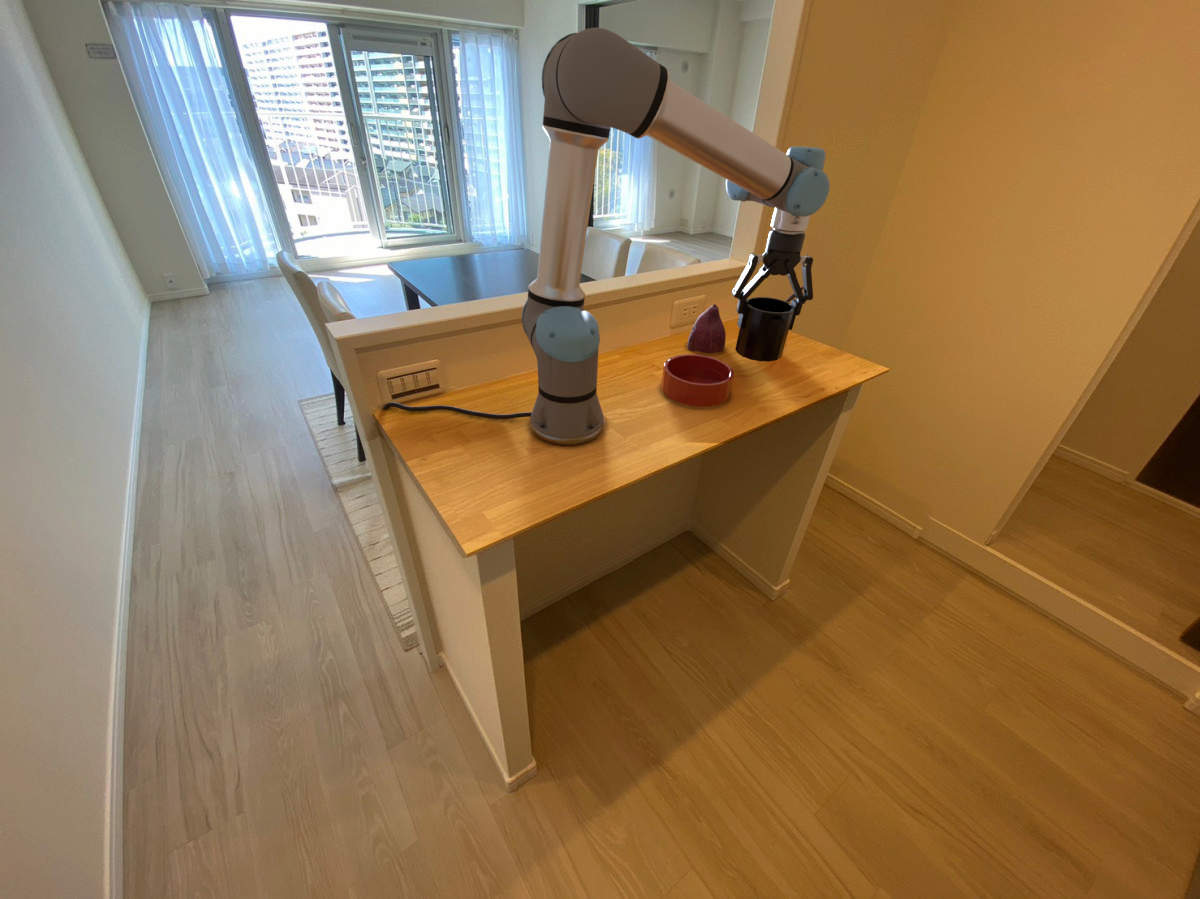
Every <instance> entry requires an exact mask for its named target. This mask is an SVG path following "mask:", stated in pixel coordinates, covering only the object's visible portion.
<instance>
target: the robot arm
mask: <svg viewBox="0 0 1200 899" xmlns="http://www.w3.org/2000/svg"><path fill="white" fill-rule="evenodd" d="M541 89H542V95H543V98H544V101H543V102H544V104H543V106H544V107H543V113H542V114H543V115H542V116H543V117H542V129H543V131H544V132H545V134H546V135H547V137H548V139H549V149H548V159H547V168H546V180H545V189H544V201H543V211H542V212H543V213H542V221H541V233H540V243H539V253H538V264H537V276H536V279H534V280H533V281H532V282H531V283H529V284H528V289H527V300H526V301H525V303H524V304H523V307H522V312H521V324H522V329H523V331H524V333H525V335H526V337H527V340H528V341H529V344H530V346H531V348H532V351H533V352H534V355H535V358H536V363H537V364H536V365H537V384H538V386H537V388H538V391H537V392H538V393H537V395H536V399H535V402H534V405H533V408H532V411H528V412H527V411H526V412H516V413H509V414H499V413H497V414H495V413H488V412H481V411H474V410H469V409H465V408H460V407H457V406H451V405H424V406H408V405H404V404H401V403H398V402H395V401H393V402H388V403H386V404H384V405H383V406H382V409H383V410H388V409H390V408H398V409H400V410H403V411H407V412H425V411H451V412H455V413H459V414H464V415H467V416H474V417H479V418H486V419H495V420H511V419H518V418H528V417H529V418H530V428H531V431H532V433H533V434H534V435H535V436H536V437H537V438H538V439H540V440H542V441H543V442H546V443H549V444H553V445H558V446H578V445H583V444H587V443H589V442H592V441H594V440H595V439H597V438H598V437H599V436H600V435H601V434H602V433H603V432H604V431H603V430H604V428H605V417H604V413H603V409H602V406H601V403H600V400H599V396H598V392H597V391H598V390H597V388H598V370H599V368H598V367H599V348H600V344H601V338H600V337H601V336H600V327H599V323H598V321H597V319H596V318H595V316H594V315H593V314H591V313H590V312H589V311H587V310H584V306H585V299H586V293H585V292H584V290H583V288H582V287H581V285H580V283H581V275H582V268H583V261H584V254H585V246H586V239H587V232H588V226H589V218H590V211H591V204H592V199H593V198H592V197H593V190H594V183H595V177H596V169H597V162H598V155H599V150H600V148H601V147H603V146H604V145H605V144H606V143H608V141H609V140H610V139H609V138H610V133H611V128H612V129H615V130H618V131H621V132H623V133H625V134H628V135H629V136H631V137H633V138H635V139H637V140H639V139H642V138H644V137H646V136H647V137H649V138H651V139H652V140H654V141H656V142H658V143H659V144H661V145H663V146H665V147H667V148H668V149H670V150H673V151H674V152H676V153H678V154H679V155H681V156H683V157H685V158H687V159H688V160H690V161H692V162H694V163H696V164H697V165H699V166H701V167H703V168H705V169H707V170H709V171H711V172H713V174H714V173H715V174H716V175H718V176H720V177H721V178H723V179H725V180H726V181H725V188H726V193H727V195H728V197H729V199H730V200H732V201H736V202H737V201H739V202H741V203H742V202H754V203H758V204H761V205H764V206H766V207H769V208H774V210H773V214H772V219H771V223H770V227H771V228H772V229H771V230H769V232H768V237H767V241H766V246H765V251H764V253H763V254H756V253H754V252H752V253H750V254H749V258H748V261H747V265H745V268H744V270H743V271H742V273H741V274H740V277H739V278H738V280H737V282H736V283H735V286H734V287H733V289H732V290H731V294H732V296H733V297H734V299H738V301H737V305H736V313H737V314H738V318H737V326H738V328H739V330H740V329H743V327H744V323H745V318H746V314H747V309H748V304H749V301H748V300H747V299H749V297H750V296H751V295H752V294H753V293H754V292H755V291H756V290H757V288H759V286H760V285H761V284H762V283H763V282H764V281H765V280H766V279H768V278H769V277H770V276H783V277H784V276H785V277H787V278H788V279H787V280H788V281H789V284H790V286H791V288H792V291H793V293H794V294H795V298H794V299H792V300H791V301H790V304H792V305H793V306H794V307H795V309H794V313H793V317H792V320H791V324H790V327H789V331H793V328H794V324H795V321H796V317H797V316H800V314H801V312H802V308H803V305H804V304H806V302H807V301H812V300H813V299H814V290H813V287H814V286H813V276H812V273H813V272H812V267H813V263H814V258H813V257H812V256H810V255H809V254H806V255H803V256H802V255H801V253H802V250H803V246H804V242H805V239H806V234H805V232H806V231H807V230H808V227H809V223H810V220H811V216H812V215H814V214H815V213H817V212H818V211H819V210H820V209H821V208H822V207H823V206H824V204H825V203H826V200H827V199H828V197H829V193H830V186H831V184H830V179H829V176H828V175H827V173H826V172H824V166H825V163H826V156H827V154H826V151H825V149H823V148H820V147H815V146H801V145H800V146H790V147H789V148H788V150H787V152H786V153H785V152H784V151H782V150H781V149H779V148H778V147H776V146H774V145H773V144H771V143H770V142H768V141H766V140H765V139H763V138H762V137H760V136H759V135H757V134H755V133H754V132H752V131H751V130H749V129H748V128H746V127H744V126H743V125H741V124H740V123H738V122H736V121H735V120H733V119H732V118H730V117H729V116H727V115H725V114H724V113H722V112H721V111H720V110H718V109H716V108H715V107H713V106H711V105H709V104H708V103H706V102H705V101H703V100H702V99H701V98H699V97H697V96H695V95H694V94H692V93H691V92H690V91H688V90H686V89H685V88H682V87H681V86H680V85H678V84H676V83H675V82H673V81H672V80H671V75H670V71H669V69H668V68H667V67H666V66H664V65H663V64H661V63H659V62H658V61H656V60H655V59H653V58H652V57H651V56H649V55H648V54H647V53H645V52H644V51H642V50H641V49H639V48H638V47H636V45H634V44H632V43H631V42H629V41H628V40H627V39H625V38H623V37H622V36H621V35H619V34H617V33H616V32H613V31H611V30H609V29H607V28H603V27H598V26H597V27H590V28H585V29H583V30H580V31H578V32H573V33H569V34H567V35H564V36H562V37H561V38H559V39H558V40H557V41H556V42H555V43H554V45H553V46H552V47H551V48H550V49H549V51H548V54H547V55H546V56H545V59H544V62H543V65H542V70H541ZM761 262H762V263H763V265H762V266H761V268H759V270H758V272H757V273H756V275H755V276H754V277H753V278H752V279H751V277H752V275H753V274H754V272H755V271H756V269H757V266H759V265H760V263H761ZM799 263H800V266H801V273H802V274H801V276H802V287H804V289H803V290H801V285H800V283H799V280H798V278H797V273H796V271H795V268H796V267H797V265H799ZM750 279H751V280H750ZM802 292H803V293H802Z"/></svg>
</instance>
